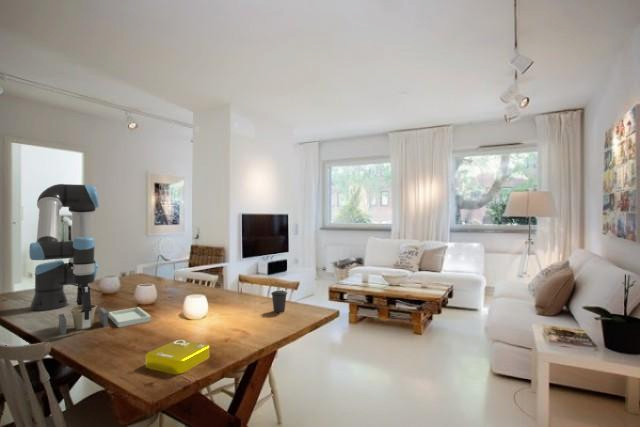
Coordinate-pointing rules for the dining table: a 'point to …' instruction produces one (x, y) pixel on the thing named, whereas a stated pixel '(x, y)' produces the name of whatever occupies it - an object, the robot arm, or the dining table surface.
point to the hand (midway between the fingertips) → (83, 323)
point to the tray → (129, 317)
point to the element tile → (177, 356)
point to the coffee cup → (279, 300)
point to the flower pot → (78, 316)
